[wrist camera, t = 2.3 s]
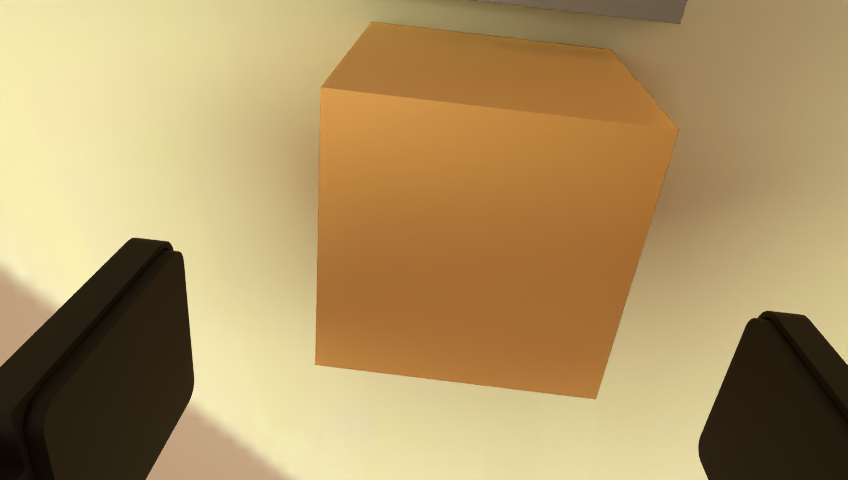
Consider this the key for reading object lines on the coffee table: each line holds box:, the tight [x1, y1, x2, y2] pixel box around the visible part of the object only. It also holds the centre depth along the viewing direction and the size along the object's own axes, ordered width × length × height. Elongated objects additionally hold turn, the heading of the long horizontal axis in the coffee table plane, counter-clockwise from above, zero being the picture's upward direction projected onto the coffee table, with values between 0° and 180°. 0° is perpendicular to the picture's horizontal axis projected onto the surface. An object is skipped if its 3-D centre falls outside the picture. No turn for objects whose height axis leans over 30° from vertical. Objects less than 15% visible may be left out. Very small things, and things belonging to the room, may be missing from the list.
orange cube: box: [315, 22, 679, 399], centre depth 15 cm, size 6×6×6 cm
